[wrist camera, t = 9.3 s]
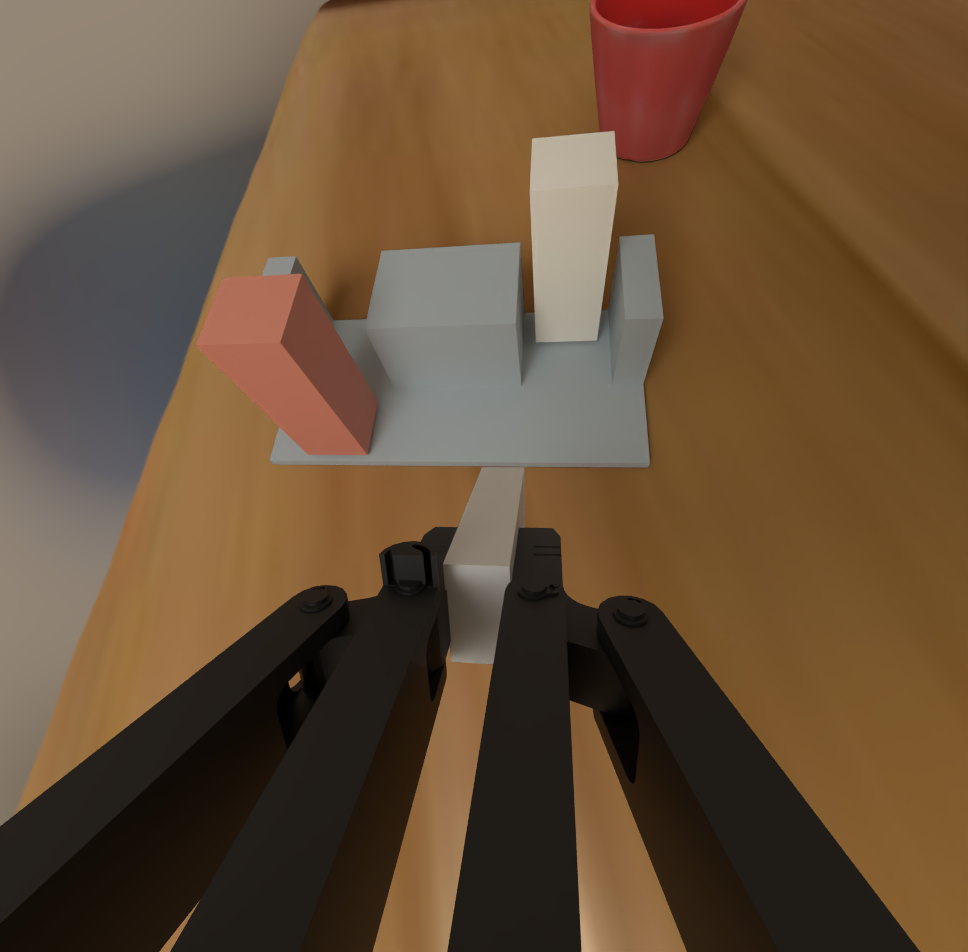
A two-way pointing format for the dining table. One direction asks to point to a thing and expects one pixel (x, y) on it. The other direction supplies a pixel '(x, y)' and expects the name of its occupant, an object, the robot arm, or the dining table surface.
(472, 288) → the slot block
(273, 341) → the red plug
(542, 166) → the cream plug
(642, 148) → the flower pot
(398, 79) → the dining table surface
